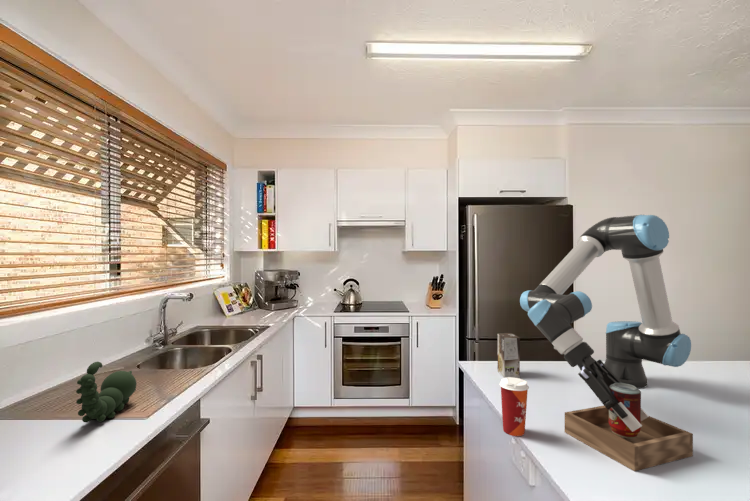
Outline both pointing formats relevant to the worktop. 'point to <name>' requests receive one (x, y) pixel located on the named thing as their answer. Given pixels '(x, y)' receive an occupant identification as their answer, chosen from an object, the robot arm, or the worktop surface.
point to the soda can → (631, 401)
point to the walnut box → (630, 439)
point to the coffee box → (509, 355)
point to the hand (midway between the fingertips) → (640, 423)
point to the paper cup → (514, 405)
